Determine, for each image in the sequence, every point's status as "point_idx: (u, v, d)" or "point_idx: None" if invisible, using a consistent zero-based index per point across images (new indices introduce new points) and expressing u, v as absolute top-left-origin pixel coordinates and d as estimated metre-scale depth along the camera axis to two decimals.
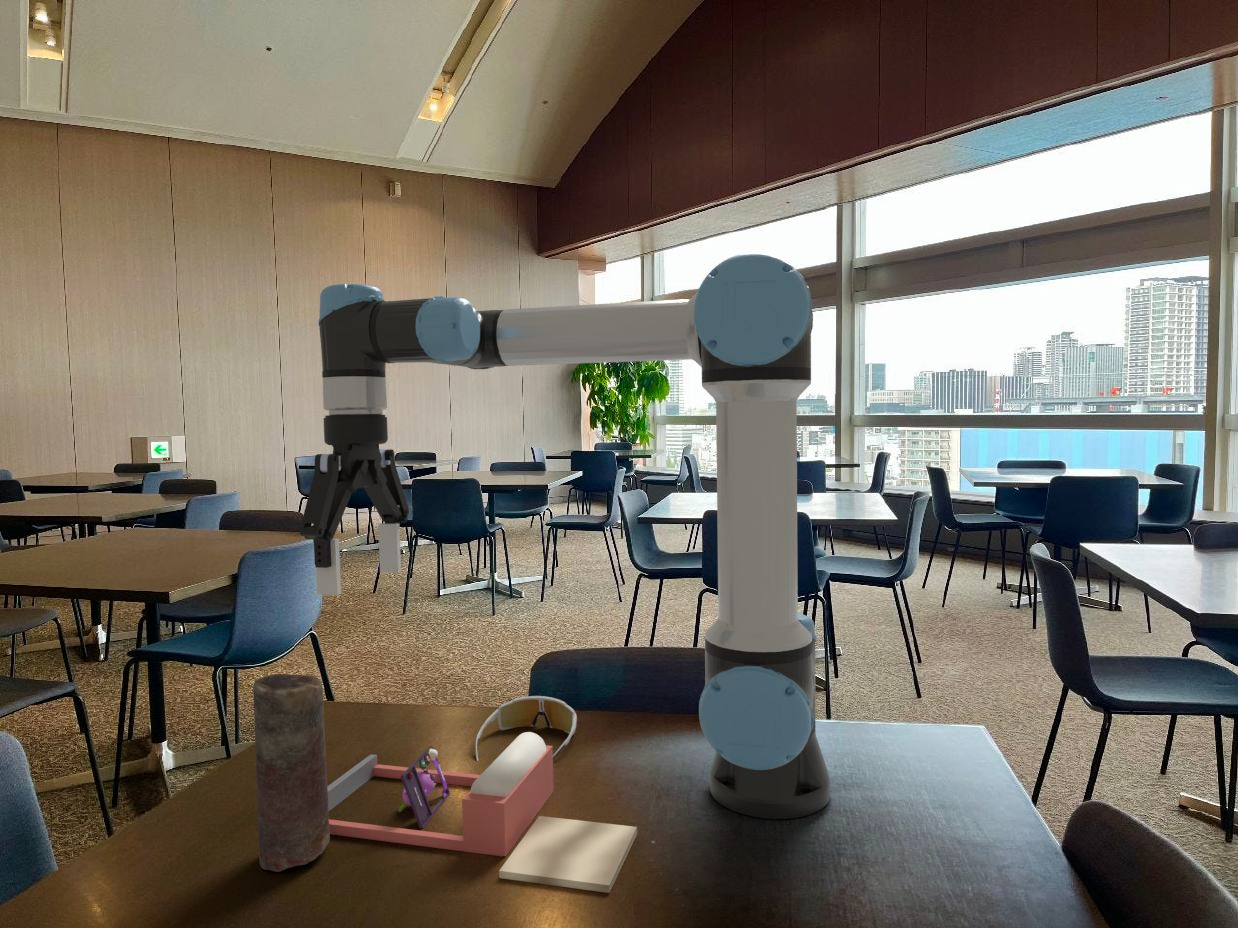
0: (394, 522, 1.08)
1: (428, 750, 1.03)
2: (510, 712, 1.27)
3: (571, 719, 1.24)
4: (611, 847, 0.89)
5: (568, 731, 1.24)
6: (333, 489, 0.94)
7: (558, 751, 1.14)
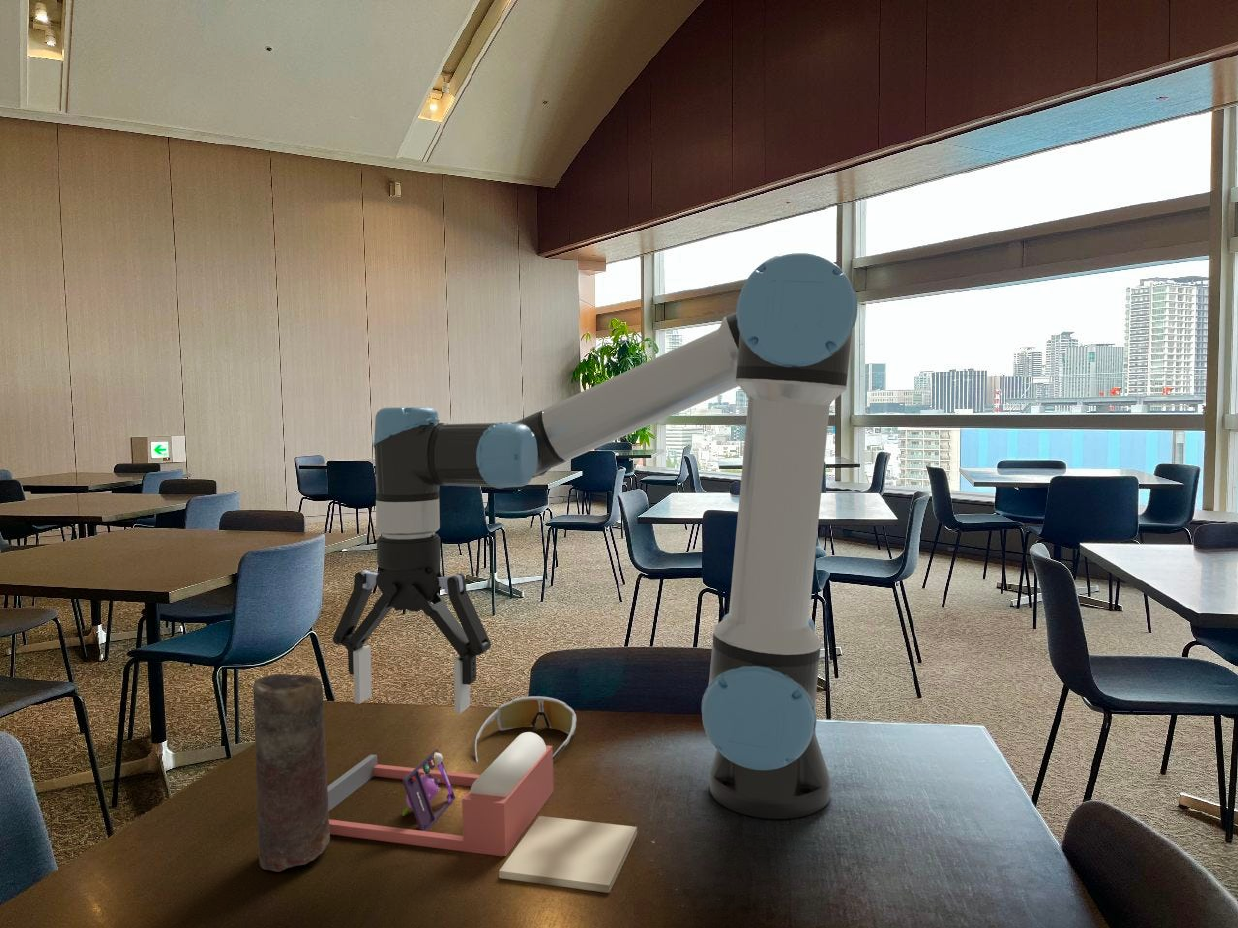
0: None
1: (433, 754, 1.02)
2: (510, 712, 1.27)
3: (570, 719, 1.24)
4: (611, 847, 0.89)
5: (568, 731, 1.24)
6: (354, 604, 1.00)
7: (558, 751, 1.14)
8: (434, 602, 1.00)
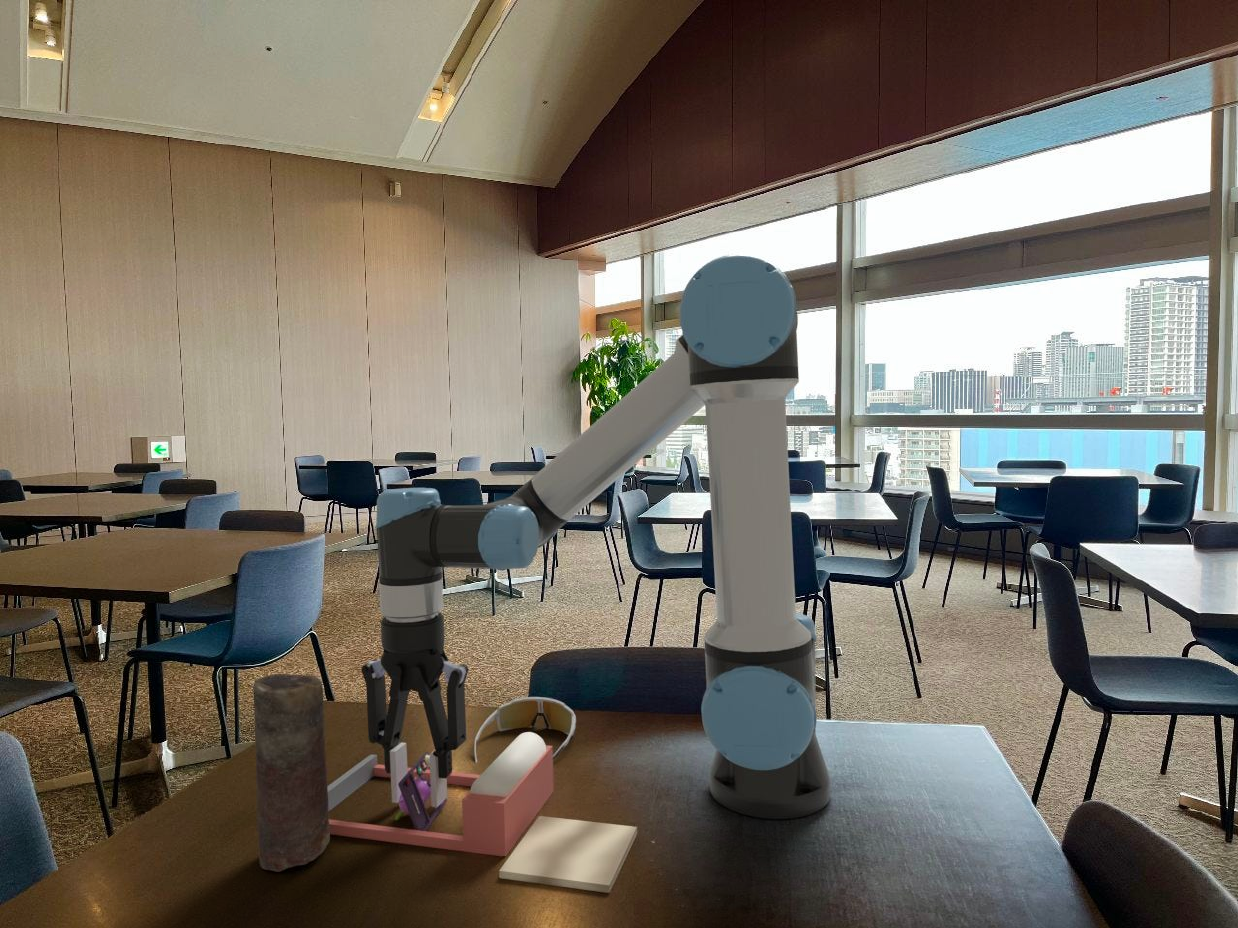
0: None
1: (424, 756, 1.01)
2: (509, 713, 1.26)
3: (570, 720, 1.24)
4: (611, 847, 0.89)
5: (567, 732, 1.24)
6: (373, 697, 1.00)
7: (557, 752, 1.14)
8: None
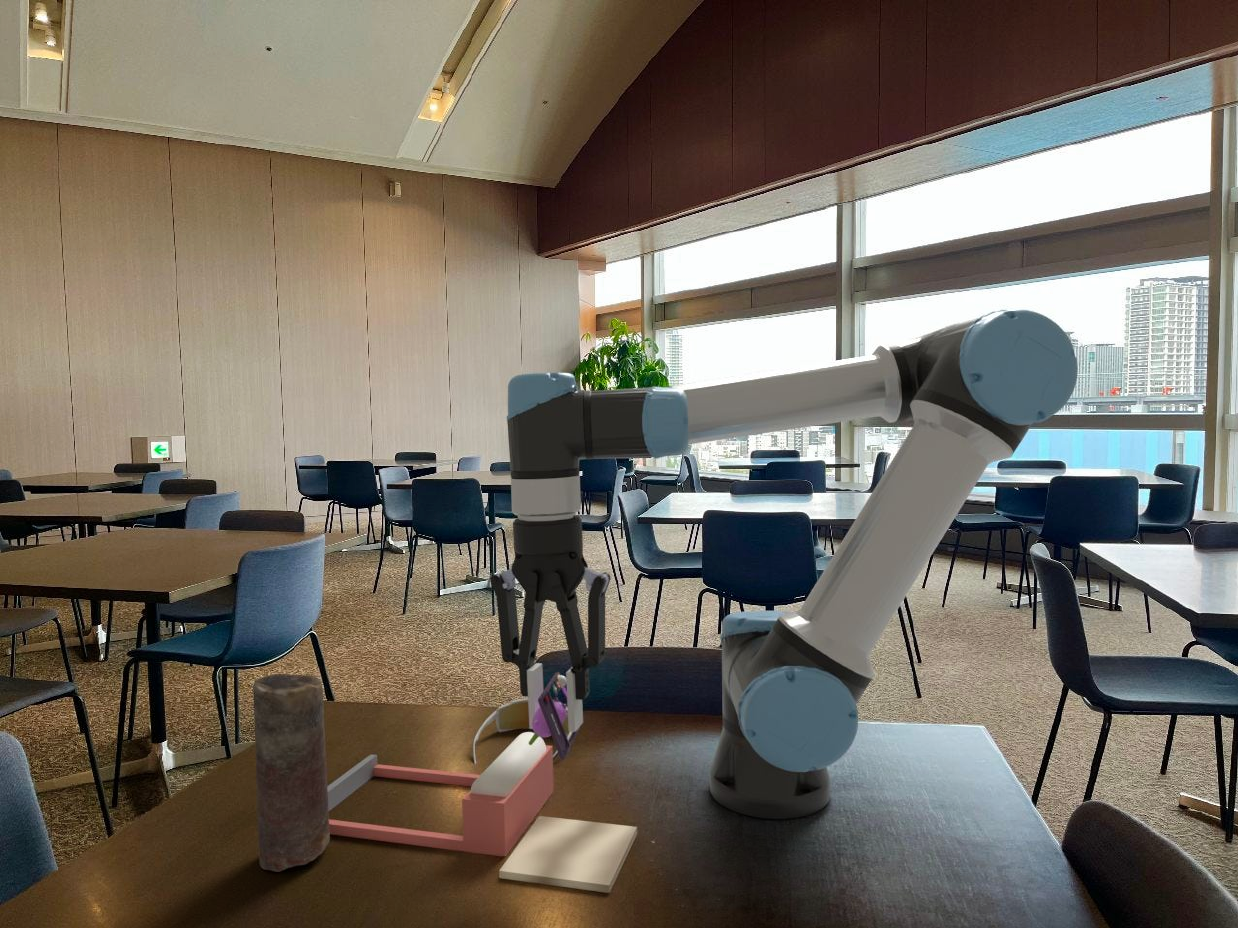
0: None
1: (556, 676, 0.90)
2: (508, 713, 1.26)
3: None
4: (611, 847, 0.89)
5: (566, 733, 1.23)
6: (505, 610, 0.89)
7: (556, 753, 1.14)
8: None
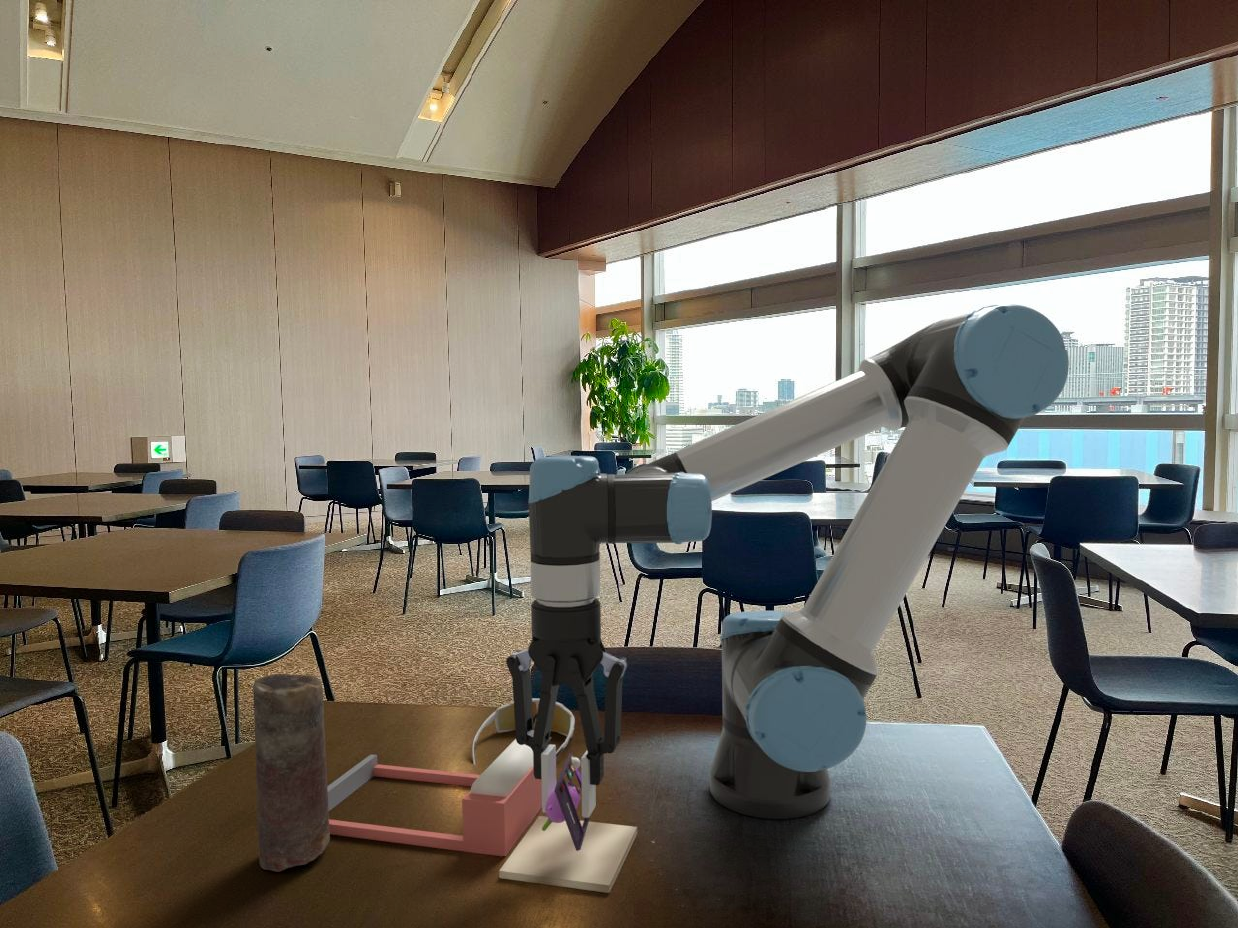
0: None
1: (570, 758, 0.90)
2: (507, 714, 1.26)
3: (568, 722, 1.23)
4: (611, 847, 0.89)
5: (566, 734, 1.23)
6: (520, 693, 0.88)
7: (556, 754, 1.13)
8: None
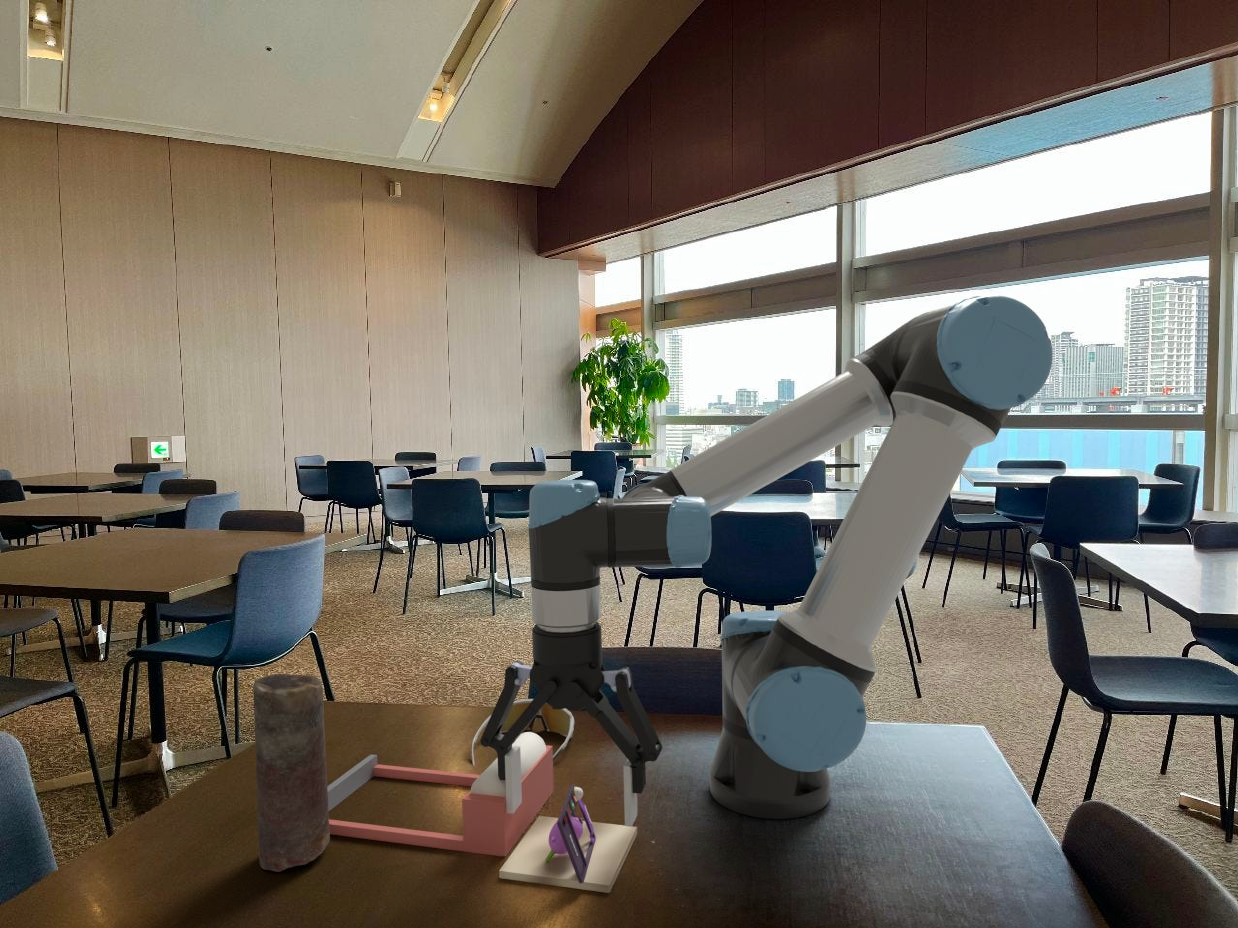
0: None
1: (573, 789, 0.90)
2: None
3: (568, 722, 1.23)
4: (611, 847, 0.89)
5: (565, 734, 1.23)
6: (505, 703, 0.89)
7: (555, 755, 1.13)
8: (595, 698, 0.89)
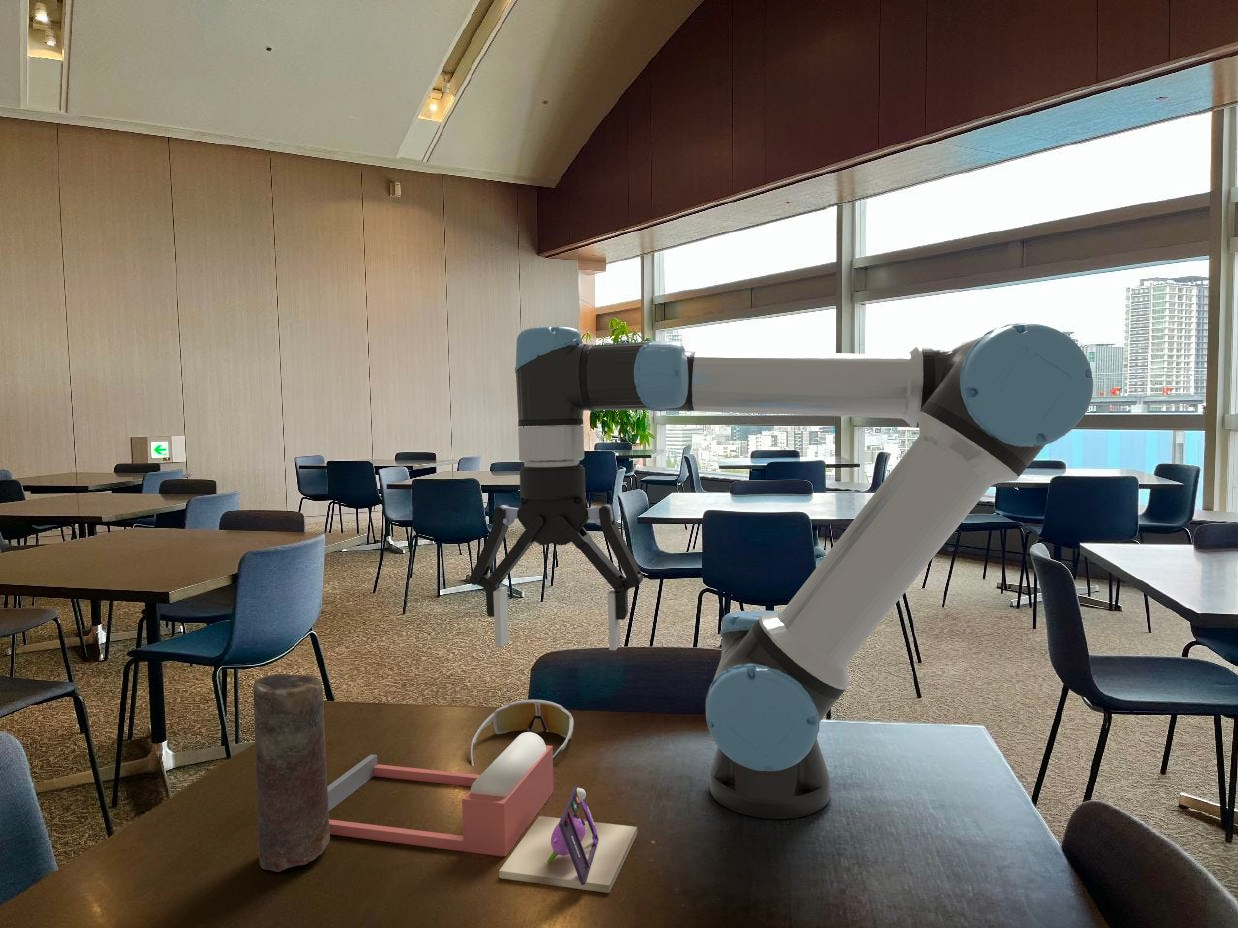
0: (615, 591, 0.92)
1: (576, 790, 0.89)
2: (506, 716, 1.25)
3: (567, 723, 1.22)
4: (611, 847, 0.89)
5: (565, 735, 1.23)
6: (494, 541, 0.94)
7: (555, 756, 1.13)
8: None
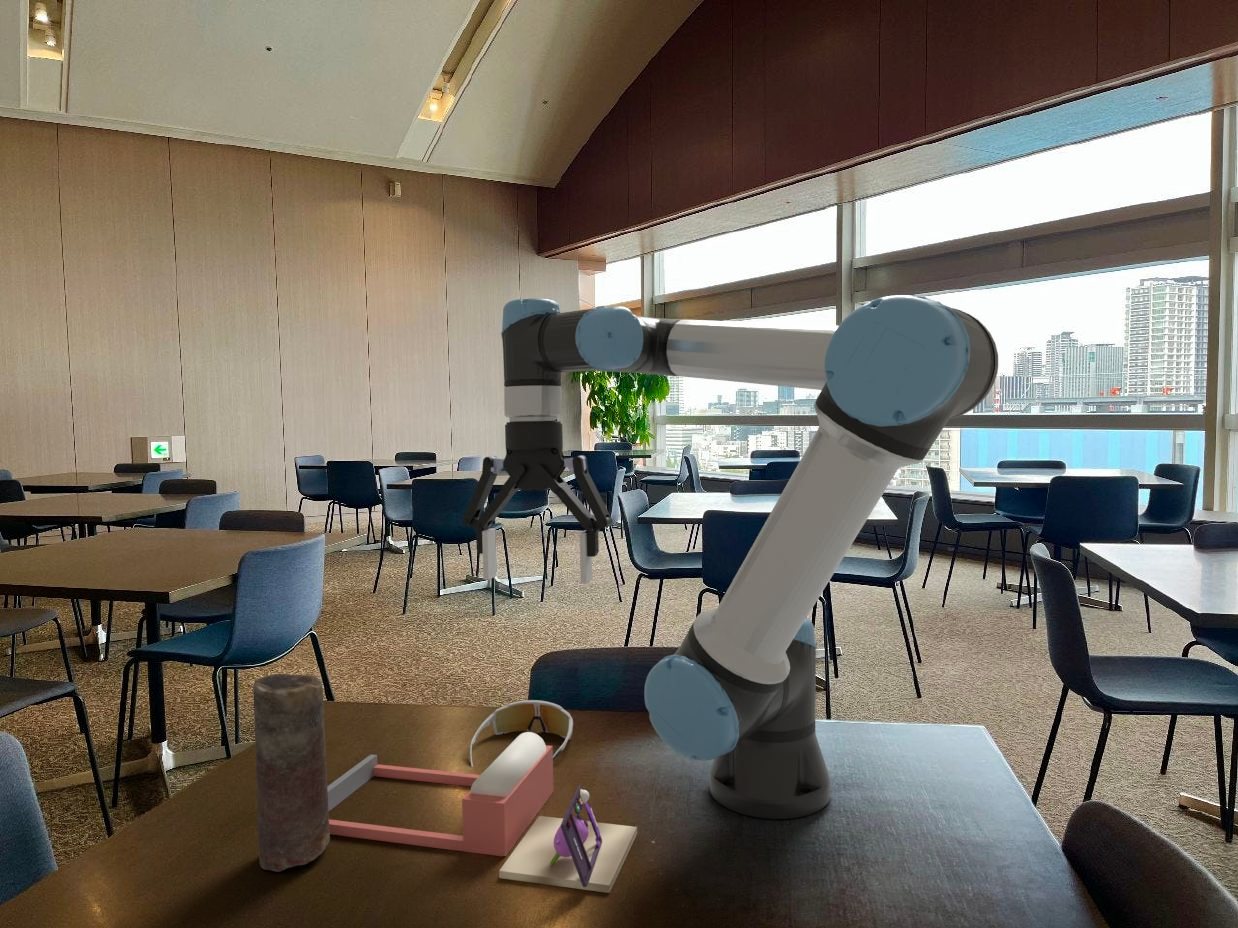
0: None
1: (579, 791, 0.89)
2: (505, 716, 1.25)
3: (567, 724, 1.22)
4: (611, 847, 0.89)
5: (564, 736, 1.22)
6: (483, 487, 1.08)
7: (554, 756, 1.13)
8: None
